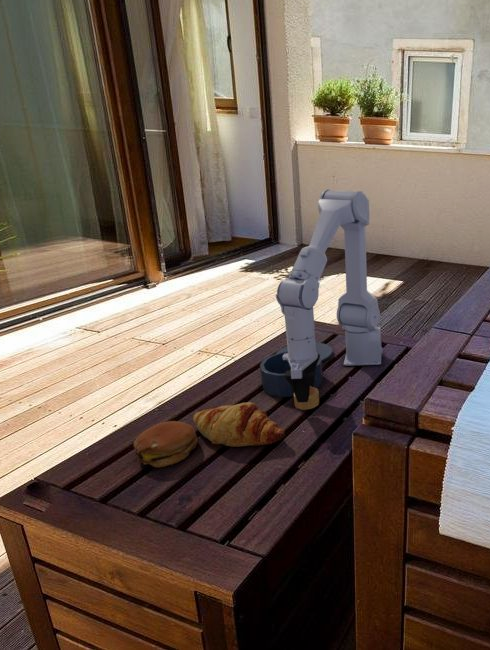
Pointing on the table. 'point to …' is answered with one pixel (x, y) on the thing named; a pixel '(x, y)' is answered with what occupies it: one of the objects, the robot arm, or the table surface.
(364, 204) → the robot arm
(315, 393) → the ball in tan cup
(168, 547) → the table surface
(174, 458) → the burger
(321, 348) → the lid
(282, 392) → the pot
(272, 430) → the croissant
